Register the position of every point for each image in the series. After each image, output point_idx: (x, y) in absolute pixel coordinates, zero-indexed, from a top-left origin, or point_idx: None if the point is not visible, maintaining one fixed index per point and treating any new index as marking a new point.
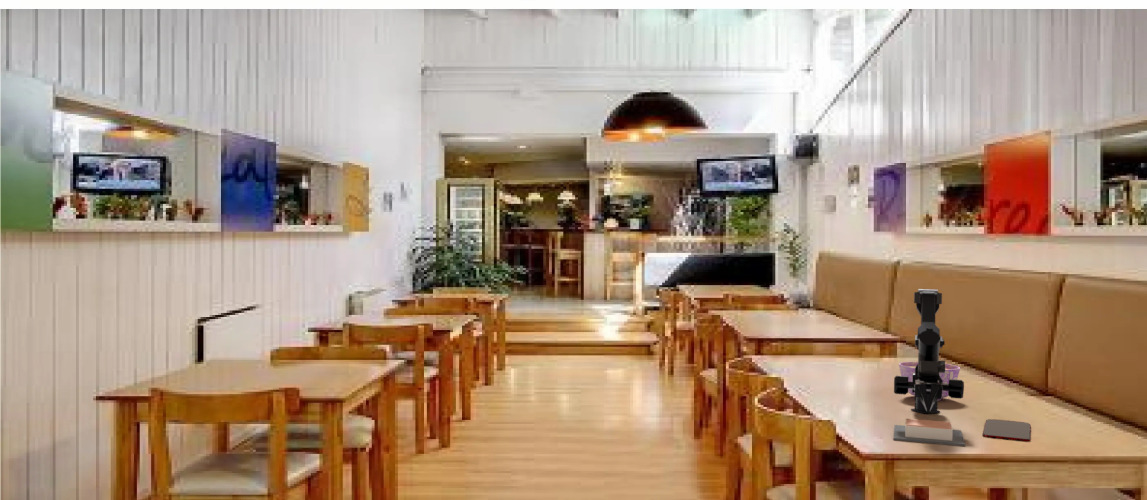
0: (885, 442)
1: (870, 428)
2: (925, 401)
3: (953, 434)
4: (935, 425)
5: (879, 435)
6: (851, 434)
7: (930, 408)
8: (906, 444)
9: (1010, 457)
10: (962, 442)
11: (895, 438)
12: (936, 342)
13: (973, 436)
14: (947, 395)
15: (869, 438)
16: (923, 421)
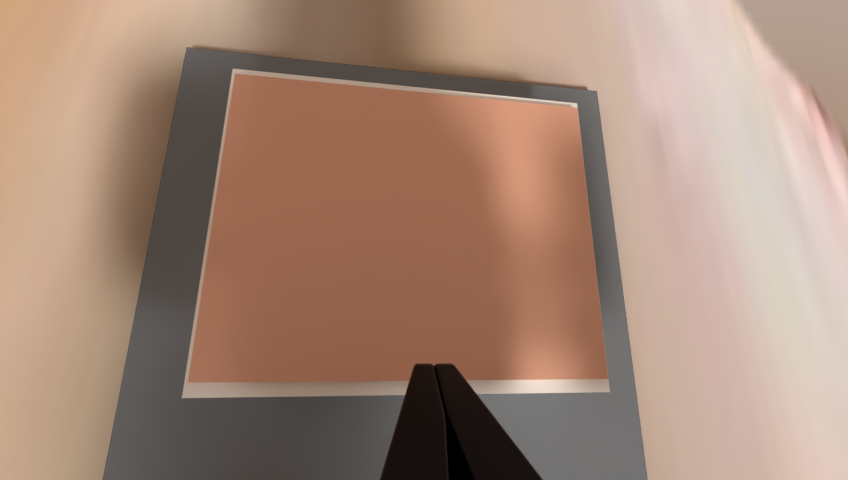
0: (616, 37)
1: (767, 398)
2: (510, 465)
3: None
4: (361, 145)
5: (674, 195)
6: (797, 167)
7: (408, 384)
8: (518, 22)
9: None
10: (193, 87)
11: (585, 92)
12: None
13: (13, 448)
14: None
15: (700, 102)
16: (457, 291)
